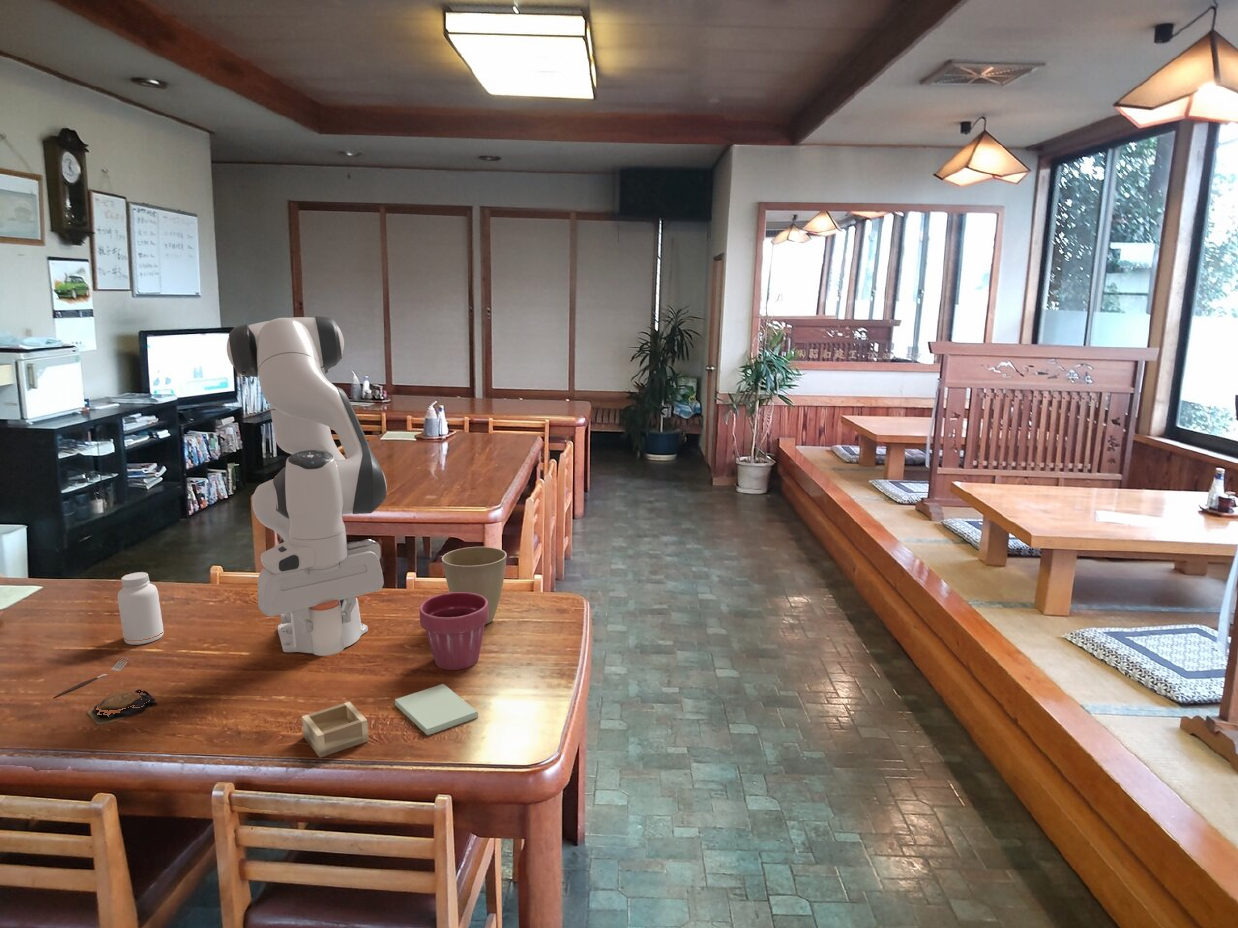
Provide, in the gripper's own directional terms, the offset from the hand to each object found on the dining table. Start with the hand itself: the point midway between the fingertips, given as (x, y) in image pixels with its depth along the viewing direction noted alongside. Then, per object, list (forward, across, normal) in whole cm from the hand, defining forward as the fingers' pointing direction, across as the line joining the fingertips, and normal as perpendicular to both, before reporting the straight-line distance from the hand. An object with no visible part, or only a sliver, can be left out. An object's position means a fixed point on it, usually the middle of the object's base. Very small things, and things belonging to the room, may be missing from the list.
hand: (326, 626), depth 142 cm
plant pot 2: (+21, -31, -15) cm, 40 cm away
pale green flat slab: (+21, -18, +2) cm, 28 cm away
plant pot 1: (+21, -45, -32) cm, 59 cm away
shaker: (+4, 0, 0) cm, 4 cm away
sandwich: (+22, +28, -36) cm, 51 cm away
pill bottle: (+21, +19, -71) cm, 76 cm away
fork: (+22, +31, -54) cm, 66 cm away
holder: (+21, 0, 0) cm, 21 cm away
